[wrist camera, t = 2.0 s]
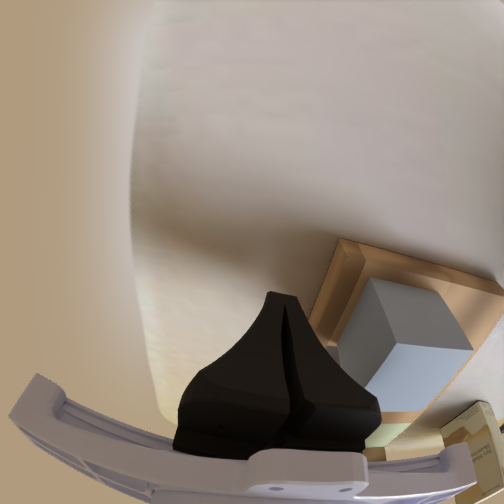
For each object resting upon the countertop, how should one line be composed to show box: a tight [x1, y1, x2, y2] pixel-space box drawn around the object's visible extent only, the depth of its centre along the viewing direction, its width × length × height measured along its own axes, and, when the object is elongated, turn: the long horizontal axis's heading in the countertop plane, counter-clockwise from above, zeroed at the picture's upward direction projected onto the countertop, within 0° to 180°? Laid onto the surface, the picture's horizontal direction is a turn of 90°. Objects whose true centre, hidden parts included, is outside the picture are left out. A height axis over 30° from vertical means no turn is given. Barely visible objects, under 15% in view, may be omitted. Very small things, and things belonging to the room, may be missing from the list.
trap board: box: [308, 238, 504, 462], centre depth 17 cm, size 13×20×5 cm, turn 168°
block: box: [337, 277, 474, 412], centre depth 12 cm, size 4×4×4 cm
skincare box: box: [440, 401, 504, 504], centre depth 17 cm, size 6×4×12 cm
